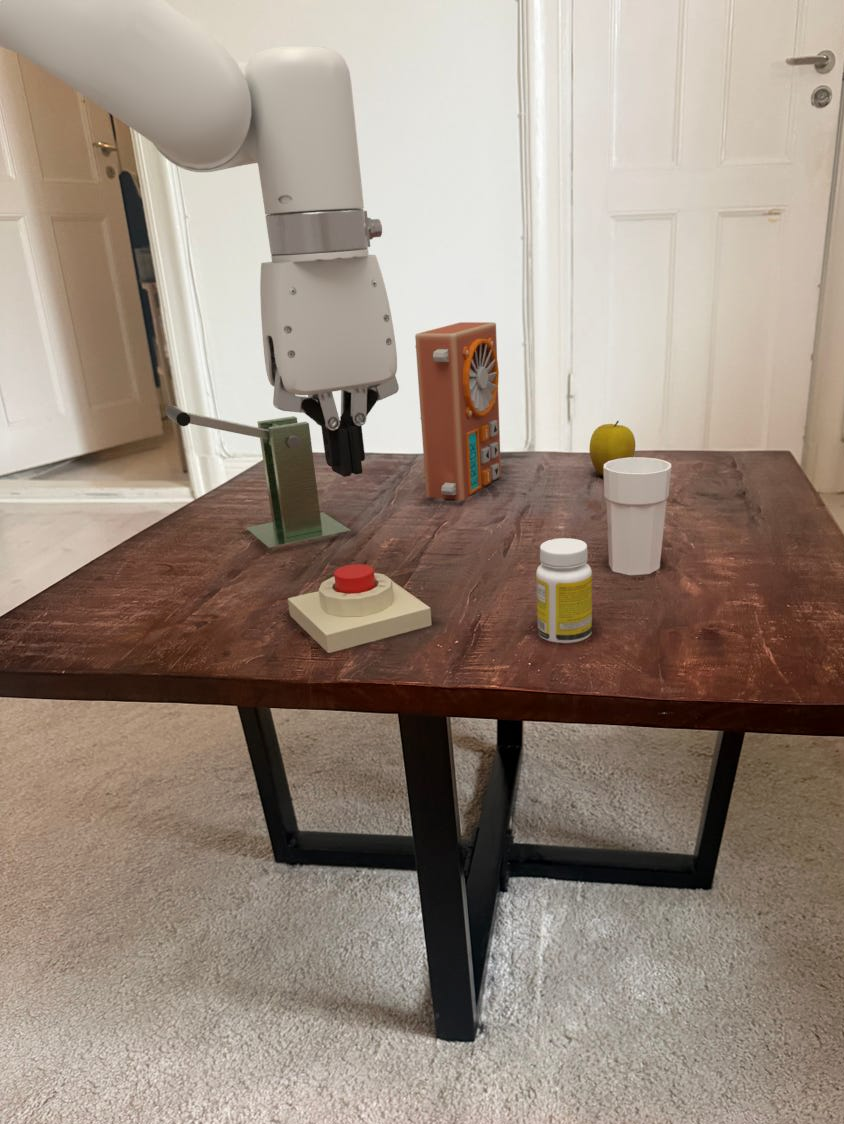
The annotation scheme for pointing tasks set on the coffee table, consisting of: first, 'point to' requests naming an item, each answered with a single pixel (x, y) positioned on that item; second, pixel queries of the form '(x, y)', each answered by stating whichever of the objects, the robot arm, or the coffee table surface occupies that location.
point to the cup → (636, 512)
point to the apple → (610, 445)
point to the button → (354, 579)
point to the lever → (216, 423)
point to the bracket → (291, 486)
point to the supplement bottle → (564, 591)
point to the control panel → (459, 408)
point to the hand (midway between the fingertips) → (347, 471)
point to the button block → (358, 614)
